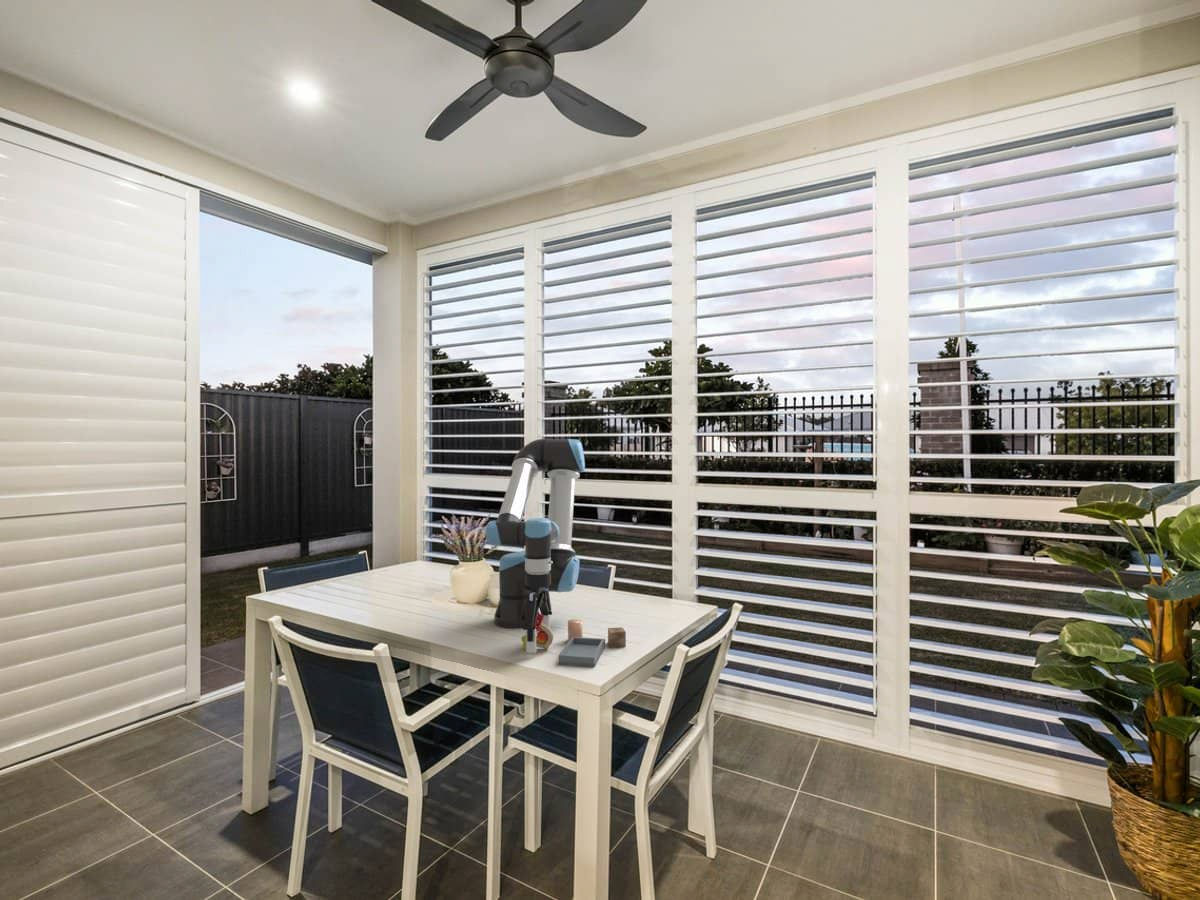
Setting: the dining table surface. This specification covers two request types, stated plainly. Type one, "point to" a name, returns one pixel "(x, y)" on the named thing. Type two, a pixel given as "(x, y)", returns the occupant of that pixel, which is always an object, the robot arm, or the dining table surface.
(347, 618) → the dining table surface
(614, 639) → the walnut cube
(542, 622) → the robot arm
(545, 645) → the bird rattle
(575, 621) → the peach round-ended cylinder
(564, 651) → the tray
